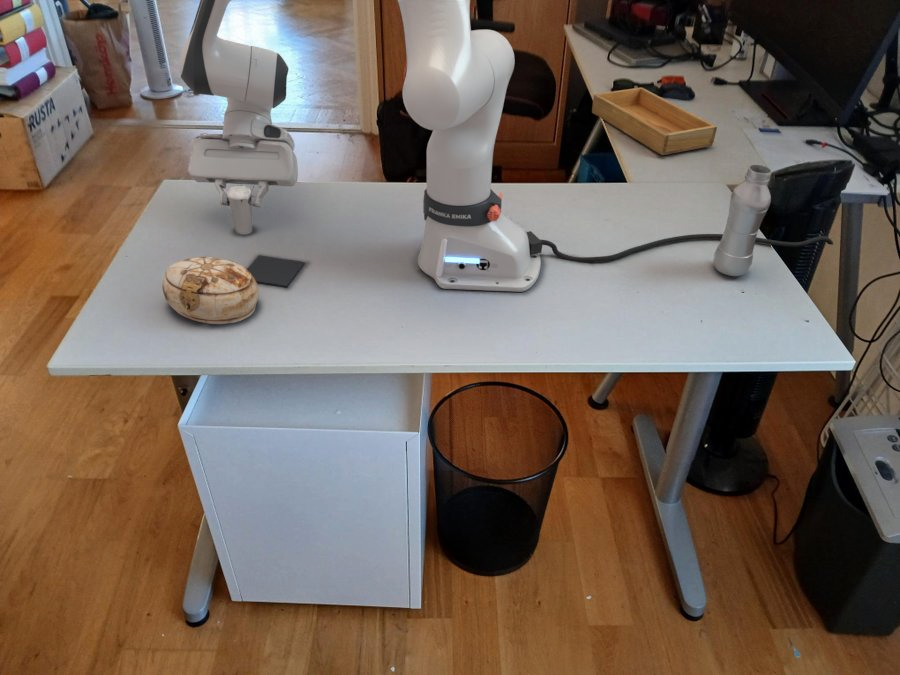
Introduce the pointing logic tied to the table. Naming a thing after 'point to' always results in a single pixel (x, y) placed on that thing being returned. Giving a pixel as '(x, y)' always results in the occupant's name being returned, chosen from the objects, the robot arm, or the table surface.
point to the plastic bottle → (743, 222)
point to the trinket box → (210, 290)
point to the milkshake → (241, 208)
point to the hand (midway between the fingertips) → (240, 205)
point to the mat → (274, 270)
